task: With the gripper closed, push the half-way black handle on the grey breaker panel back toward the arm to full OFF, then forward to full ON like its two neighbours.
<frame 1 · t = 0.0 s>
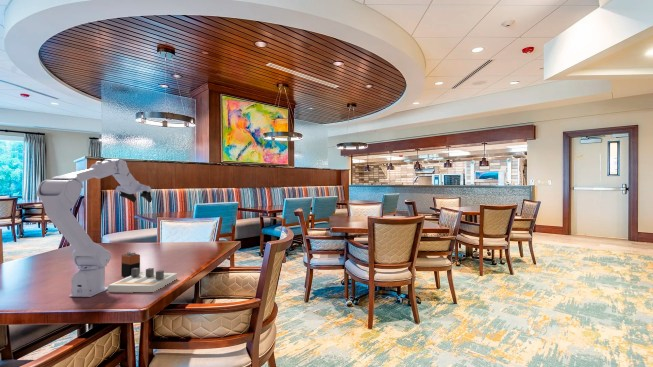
hand: (142, 200, 138), 32 cm above the table, tool tilted 50°, fingers open, 7 cm apart
battery: (130, 276, 130), on the table
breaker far: (135, 272, 121), point 4 cm above the table, slide at 3.0 cm
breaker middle: (149, 272, 120), point 4 cm above the table, slide at 3.0 cm
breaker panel: (144, 285, 117), on the table
breaker tripped: (159, 274, 117), point 4 cm above the table, slide at 0.0 cm
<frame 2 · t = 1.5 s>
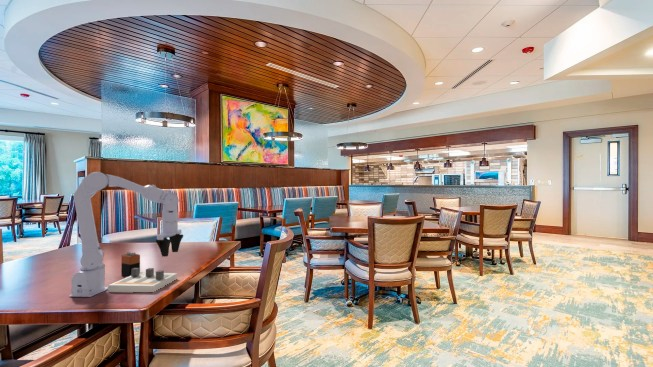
hand: (170, 254, 124), 11 cm above the table, tool pointing down, fingers open, 7 cm apart
nothing on the table moved.
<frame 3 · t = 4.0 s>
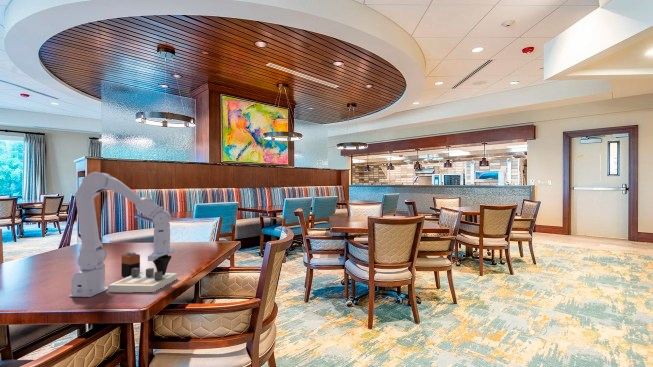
hand: (161, 274, 118), 4 cm above the table, tool pointing down, fingers closed
breaker tripped: (158, 275, 116), point 4 cm above the table, slide at -0.8 cm, touching gripper
everything else where it was.
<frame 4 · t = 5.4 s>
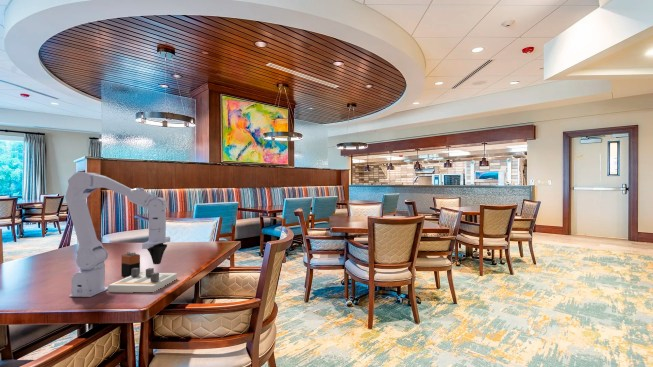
hand: (156, 263, 115), 9 cm above the table, tool pointing down, fingers closed
breaker tripped: (154, 277, 114), point 4 cm above the table, slide at -3.1 cm
everything else where it was.
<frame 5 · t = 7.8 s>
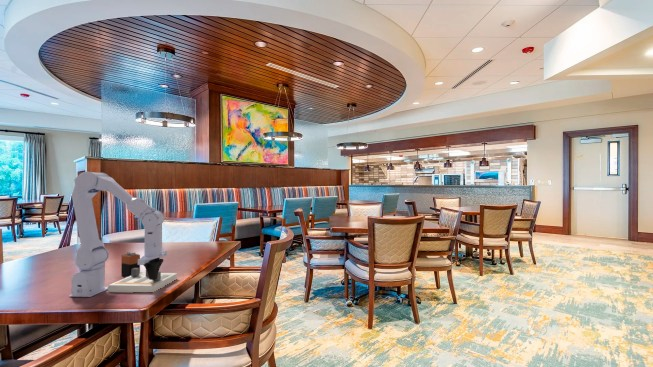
hand: (153, 279, 113), 4 cm above the table, tool pointing down, fingers closed
breaker tripped: (156, 276, 115), point 4 cm above the table, slide at -2.0 cm, touching gripper
everything else where it was.
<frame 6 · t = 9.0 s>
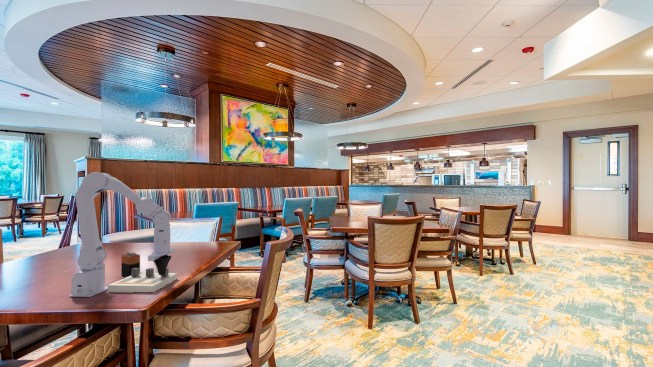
hand: (161, 274, 118), 4 cm above the table, tool pointing down, fingers closed
breaker tripped: (164, 272, 120), point 4 cm above the table, slide at 3.3 cm, touching gripper
everything else where it was.
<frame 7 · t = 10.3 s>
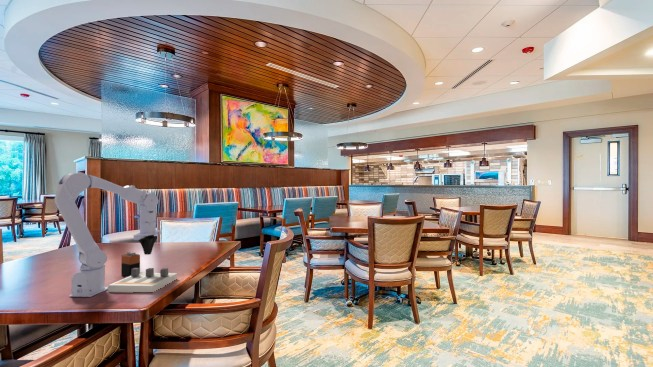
hand: (147, 254, 125), 10 cm above the table, tool pointing down, fingers closed
breaker tripped: (164, 272, 120), point 4 cm above the table, slide at 3.1 cm
everything else where it was.
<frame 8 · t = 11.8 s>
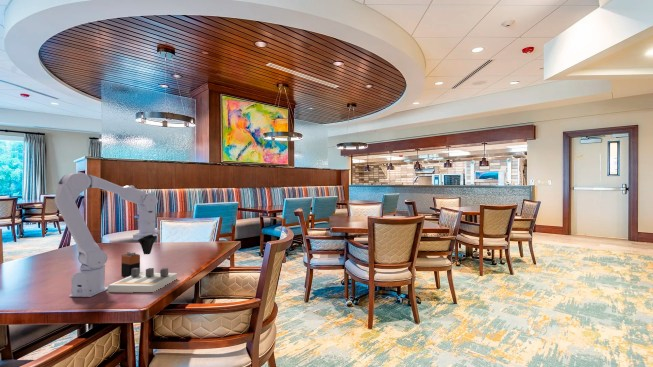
hand: (147, 253, 126), 10 cm above the table, tool pointing down, fingers closed
nothing on the table moved.
at the end: breaker tripped slide at 3.1 cm; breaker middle slide at 3.0 cm; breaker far slide at 3.0 cm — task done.
